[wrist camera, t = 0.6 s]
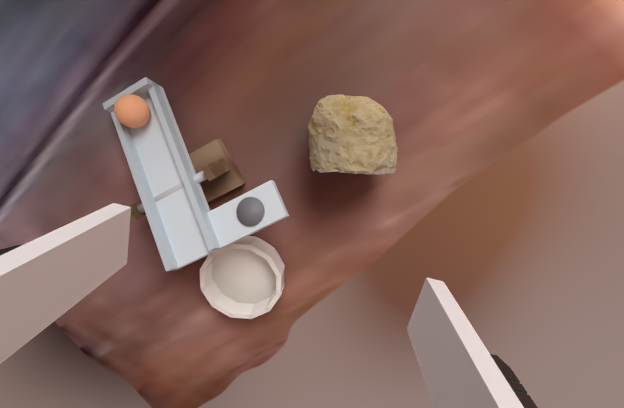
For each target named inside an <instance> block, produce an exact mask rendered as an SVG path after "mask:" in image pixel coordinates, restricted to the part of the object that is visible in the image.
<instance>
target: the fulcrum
mask: <svg viewBox="0 0 624 408" xmlns="http://www.w3.org/2000/svg"><path fill="white" fill-rule="evenodd" d="M189 157H190V159H191V162H192V164H193V167H194V170H195V172H196V174H197V173H199V172H201V171H203V172H204V174H205V175H206V177H207V179H206V180H204V181H202V182H201V183H200V185H201V188H202V190H203V193H204V195H205V198H206V201H207V203H208V202H210V201H212V200H214V199H216V198H217V197H219V196H221V195H223V194H225V193H227V192H229V191H231V190H233V189H235V188H237V187H239V186H241V185H243V184H244V183H245V180H244V179H243V177H242V175H241V173H240V172H239V170H238V168H237V166H236V165H235V163H234V161H233V159H232V157H231V156H230V154H229V152H228V150H227V149H226V147H225V145H224V143H223V142H222V140H221V138H219V139H215V140H214V141H212V142H210V143H208V144H206V145H205V146H203V147H201V148H199V149H197V150H195V151H194V152H192V153H190V154H189ZM134 186H135V188H136V189H137V187H136V184H134ZM137 191H138V190H137ZM141 203H142V202H141V201H140V202H138V203H136V204H133V205H131V206H129V207H131V215H130V223H131V222H133V221H135V220H137V219H138V218H140V217H142V216H144V215H146V213H145V212H144V213H140V212H139V211H138V209H137V206H138V205H139V204H141Z"/></svg>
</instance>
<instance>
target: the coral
mask: <svg viewBox="0 0 624 408" xmlns="http://www.w3.org/2000/svg"><path fill="white" fill-rule="evenodd" d="M308 130H309V136H308V138H309V150H310V157H309V159H310V166H311V169H312V170H313V171H315V170H317V171H318V172H320V173H323V172H341V173H353V174H366V175H372V174H387V175H388V174H394V173H395V171H396V167H395V166H396V163H397V154H396V153H397V151H398V149H397V147H396V146H397V144H396V143H395V140H396V137H395V133H394V128H393V120H392V118H391V117H390V115H389V114H388V112H387V111H386V110H385V109H384V108H383V107H382V106H381V105H380V104H378V103H377V102H376V101H374V100H372V99H370V98H368V97H362V96H344V95H343V94H341V95H329V96H326V97H325V98H322V99H321V100H319V101H318V103H317V105H316V107H315V108H314V112H313V115H312V117H311V119H310V121H309V125H308Z"/></svg>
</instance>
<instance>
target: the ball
mask: <svg viewBox="0 0 624 408" xmlns="http://www.w3.org/2000/svg"><path fill="white" fill-rule="evenodd" d="M114 113H115V116H116V118H117V119H118V120H119V121H120V122H121V123H122V124H123V125H125V126H128V127H132V128H137V127H141V126H143V125H145V124H146V123H147V122H148V120H149V118H150V113H151V112H150V108H149V105H148V104H147V102H146V101H145V100H144V99H143V98H141V97H139V96H137V95H133V94H127V95H123V96H121V97H120V98H118V99H117V101H116V102H115V105H114Z"/></svg>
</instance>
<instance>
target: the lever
mask: <svg viewBox="0 0 624 408" xmlns="http://www.w3.org/2000/svg"><path fill="white" fill-rule="evenodd" d="M127 94H133V95H137V96H139V97H141V98H143V99H144V100H145V101H146V102H147V104H148V105H149V108H150V112H151V113H150V118H149V120H148V122H147V123H146V124H145V125H143V126H141V127H137V128H132V127H128V126H125V125H123V124H122V123H121V122H120V121H119V120H118V119H117V118H116V116H115V113H114V105H115V102H116V101H117V99H118V98H120V97H121V96H123V95H127ZM103 107H104V110H106V111H108V112H110V113H111V116H112V118H113V121H114V124H115V127H116V130H117V133H118V136H119V138H120V141H121V144H122V147H123V150H124V153H125V156H126V159H127V161H128V164H129V167H130V170H131V173H132V176H133V179H134V181H135V184H136V187H137V190H138V193H139V196H140V199H141V202H142V203H141V204H139V205H138V206H137V209H138V211H139V212H140V213H144V212H145V213H146V216H147V219H148V222H149V224H150V227H151V230H152V233H153V236H154V239H155V242H156V245H157V247H158V250H159V253H160V256H161V259H162V262H163V265H164V267H165V270H166V272H167V271H173V270H178V269H180V268H182V267H184V266H186V265H189V264H191V263H193V262H195V261H197V260H199V259H201V258H203V257H205V256H207V255H209V254H211V253H213V252H216V251H218V250H220V249H222V248H224V247H226V246H228V245H230V244H232V243H234V242H236V241H238V240H240V239H243V238H245V237H247V236H249V235H251V234H253V233H255V232H257V231H259V230H261V229H263V228H265V227H268V226H270V225H272V224H274V223H276V222H278V221H280V220H282V219H284V218H286V217H288V216H289V215H288V212H287V210H286V208H285V205H284V203H283V201H282V198H281V196H280V194H279V191H278V189H277V187H276V184H275V182H274V181H273V180H270V181H268V182H266V183H264V184H262V185H260V186H258V187H256V188H254V189H252V190H251V191H249V192H247V193H245V194H243V195H241V196H239V197H237V198H235V199H233V200H231V201H229V202H227V203H225V204H223V205H221V206H219V207H217V208H215V209H213V210H211V211H210V208H209V206H208V203H207V201H206V198H205V195H204V193H203V190H202V188H201V185H200V183H201V182H202V181H204V180H206V179H207V177H206V175H205V174H204V172H203V171H201V172H199V173H197V174H196V172H195V170H194V167H193V164H192V162H191V159H190V157H189V154H188V151H187V149H186V146H185V144H184V141H183V138H182V136H181V133H180V131H179V128H178V126H177V123H176V120H175V118H174V115H173V113H172V110H171V107H170V105H169V102H168V100H167V97H166V94H165V92H164V89H163V88H162V87H161V86H159V85H158V84H156V83H155V82H153V81H151V80H150V79H148V78H147V77H145V78H143V79H141V80H140V81H138V82H137V83H135V84H133V85H132V86H130V87H128V88H127V89H125V90H124V91H122V92H120V93H119V94H117V95H116V96H114V97H112V98H111V99H109V100H107V101H106V102H104V103H103Z"/></svg>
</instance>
